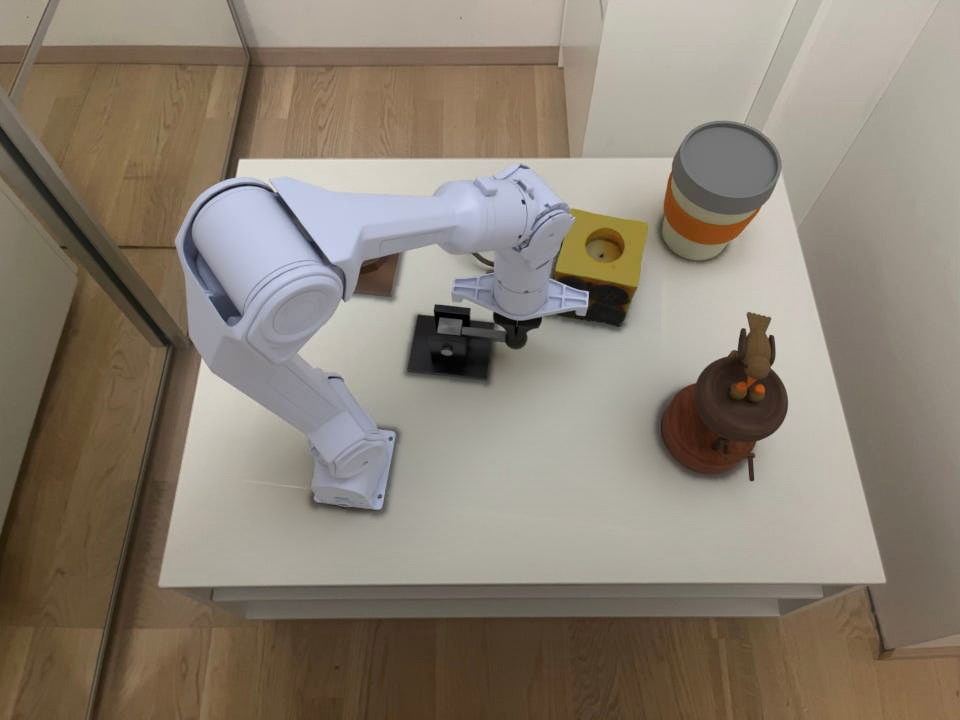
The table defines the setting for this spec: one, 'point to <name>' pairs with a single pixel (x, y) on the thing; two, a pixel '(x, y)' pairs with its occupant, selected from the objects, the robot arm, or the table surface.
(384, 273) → the button block
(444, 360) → the bracket
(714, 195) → the reusable coffee cup
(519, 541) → the table surface
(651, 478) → the table surface
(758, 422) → the music box
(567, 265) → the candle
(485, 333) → the lever
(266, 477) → the table surface
